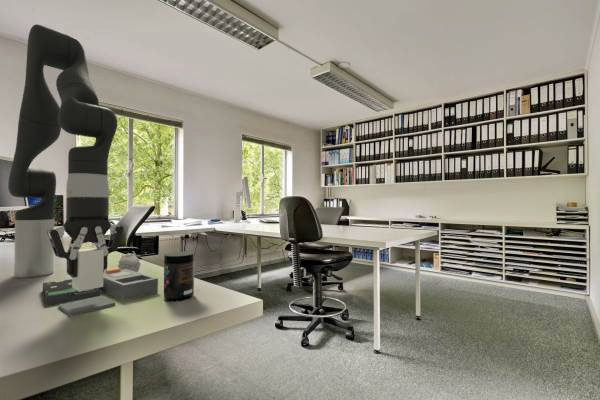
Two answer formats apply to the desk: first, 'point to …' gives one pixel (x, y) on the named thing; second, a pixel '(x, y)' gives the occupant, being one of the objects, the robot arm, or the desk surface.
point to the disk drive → (66, 292)
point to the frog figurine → (129, 262)
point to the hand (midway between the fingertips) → (87, 274)
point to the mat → (86, 305)
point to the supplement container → (178, 276)
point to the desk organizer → (128, 283)
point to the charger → (89, 269)
